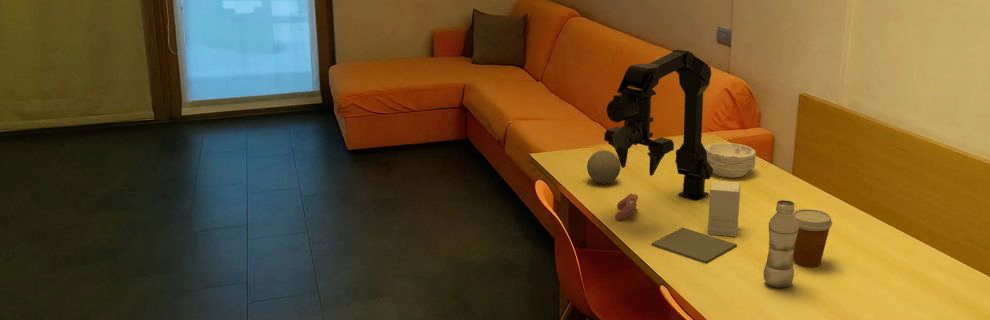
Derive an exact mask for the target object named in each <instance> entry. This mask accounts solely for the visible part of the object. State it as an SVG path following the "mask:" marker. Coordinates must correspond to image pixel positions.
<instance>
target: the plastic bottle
mask: <svg viewBox="0 0 990 320" xmlns="http://www.w3.org/2000/svg"><path fill="white" fill-rule="evenodd" d="M775 211H776V212H775V213H774V214H773V216H772V217H770V220H769V221H768V238H769V239H768V253H767V258H766V262H765V265H764V269H763V280H764V282H765V283H766V284H767V285H769V286H771V287H774V288H787V287H789V286H790V285H791V284H792V283H793V281H794V277H795V270H794V269H795V268H794V261H793V253H794V247H795V241H796V237H797V234H798V230H799V223H798V221H797V219H796V217H795V216H794V214H793V212H794V211H795V202H793V201H791V200H785V199H780V200H778V201H777V202H776V207H775Z"/></svg>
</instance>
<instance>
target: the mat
mask: <svg viewBox="0 0 990 320" xmlns="http://www.w3.org/2000/svg"><path fill="white" fill-rule="evenodd" d="M650 246H653V247H655V248H658V249H662V250H665V251H667V252H671V253H674V254H677V255H679V256H682V257H685V258H687V259H691V260H694V261H697V262H700V263H703V264H708V263H710V262H712V261H713V260H715V259H717V258H719V257H720V256H723V255H724V254H726V253H727V252H729V251H731V250H733V249H734V248H737V246H738V245H737V243H734V242H732V241H728V240H724V239H721V238H717V237H714V236H712V235H710V234H705V233H701V232H698V231H695V230H692V229H689V228H686V227H680V228H678V229H677V230H675V231H673V232H670V233H669V234H666V235H664V236H662V237H661V238H658V239H657V240H655V241H653V242H651V245H650Z"/></svg>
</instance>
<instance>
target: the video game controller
mask: <svg viewBox="0 0 990 320" xmlns="http://www.w3.org/2000/svg"><path fill="white" fill-rule="evenodd" d="M638 199H639V195H637V194H635V193H632V192H631V193H629V194H628V195H627V196H626V197H624V198H623V199H621V200H619V202H618V203H617V204H616V205H617V206H616V207H617V208H618V209H619V210H618V211H617V212H615V215H614V219H615V220H616V221H623V220H625V219H627V218H628V219H629V218H630V216H632V215H633V214H634V213H637V212H638V208H637V205H638V203H637V201H638Z"/></svg>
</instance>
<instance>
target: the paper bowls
mask: <svg viewBox="0 0 990 320" xmlns="http://www.w3.org/2000/svg"><path fill="white" fill-rule="evenodd" d="M704 148H705V150H706V152H707V161H708V163H709V164H710V166H711V167H712V168H713V173H712V174H714V175H715V176H717V177H718V176H719V177H721V178H731V179H732V178H733V179H734V178H741V177H743V176H745V175H746V174H747V172H749V171H751V170H753V169H754V168H755V165H756V154H757V153H756V150H755V148H752V147H751V146H748V145H745V144H741V143H734V142H733V143H732V142H715V143H710V144H708V145H706V146H705V147H704Z"/></svg>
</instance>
